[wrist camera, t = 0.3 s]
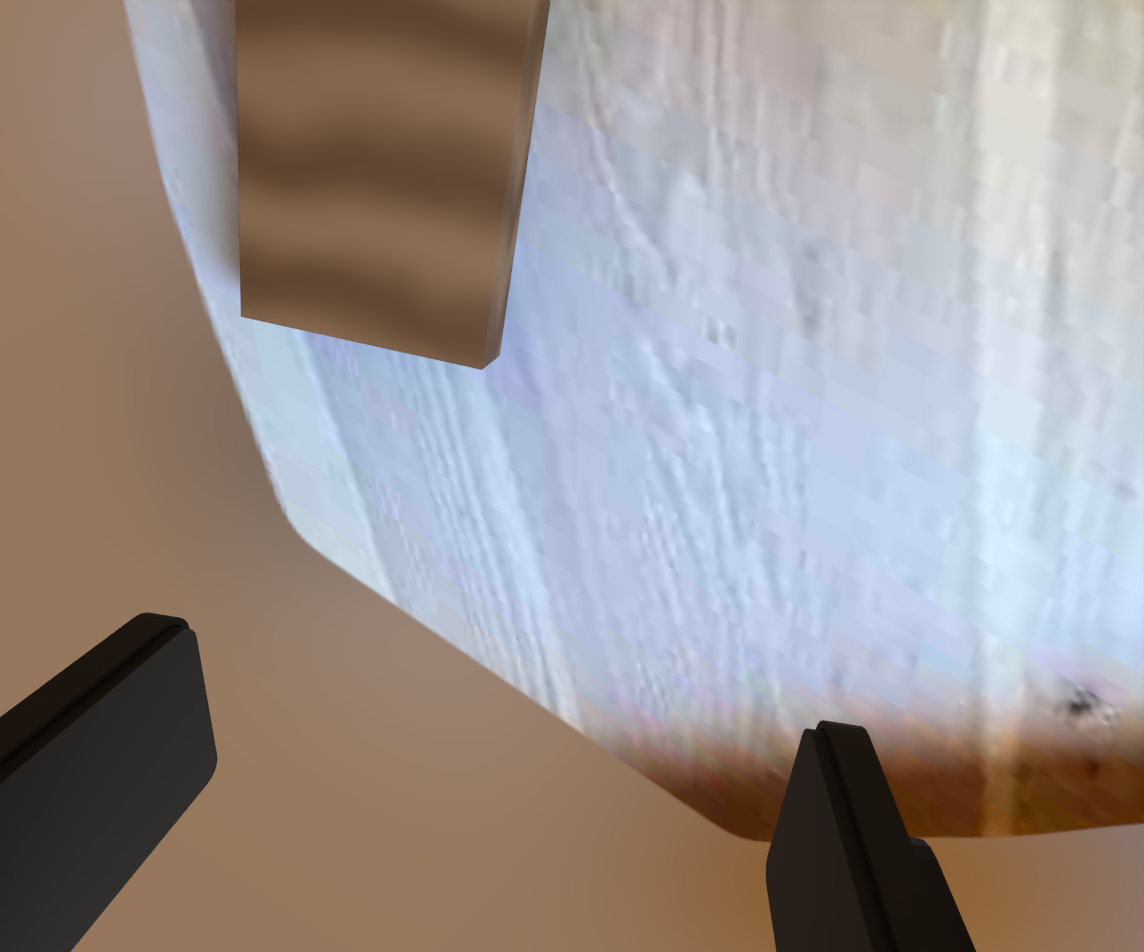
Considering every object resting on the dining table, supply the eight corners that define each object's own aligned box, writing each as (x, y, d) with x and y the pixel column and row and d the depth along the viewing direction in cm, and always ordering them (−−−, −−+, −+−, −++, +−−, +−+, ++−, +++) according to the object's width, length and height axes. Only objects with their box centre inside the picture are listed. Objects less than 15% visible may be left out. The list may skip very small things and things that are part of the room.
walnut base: (283, -48, 32) (234, -83, 29) (550, 2, 32) (534, -27, 28) (280, 307, 39) (240, 316, 36) (499, 355, 39) (481, 369, 35)
